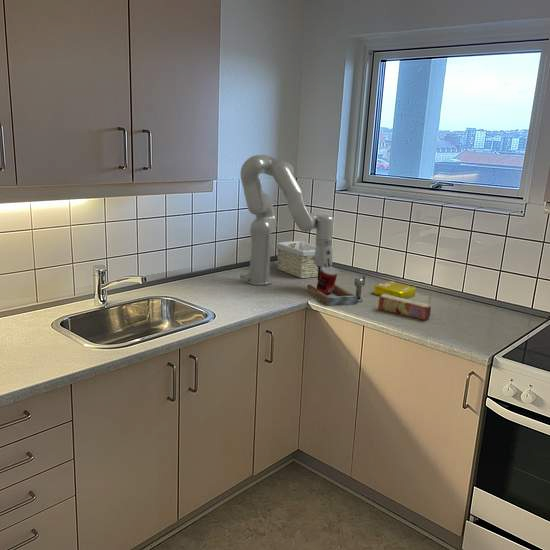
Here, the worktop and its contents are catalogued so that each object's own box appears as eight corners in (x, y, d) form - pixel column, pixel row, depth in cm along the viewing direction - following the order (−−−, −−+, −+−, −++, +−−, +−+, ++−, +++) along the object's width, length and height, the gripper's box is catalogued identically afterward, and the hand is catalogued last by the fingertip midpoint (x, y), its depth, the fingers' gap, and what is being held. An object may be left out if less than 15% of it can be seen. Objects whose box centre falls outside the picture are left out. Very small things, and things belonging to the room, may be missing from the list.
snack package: (430, 318, 229) (432, 302, 227) (425, 322, 223) (427, 306, 222) (382, 307, 240) (384, 292, 238) (376, 310, 234) (378, 295, 233)
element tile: (400, 302, 249) (401, 292, 248) (372, 294, 258) (373, 284, 257) (416, 296, 260) (417, 286, 258) (388, 289, 269) (390, 279, 268)
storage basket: (274, 268, 295) (275, 241, 291) (299, 266, 303) (301, 240, 300) (300, 280, 275) (302, 251, 272) (325, 277, 284) (328, 249, 280)
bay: (328, 305, 236) (329, 298, 235) (306, 291, 256) (307, 283, 256) (357, 303, 241) (357, 296, 240) (333, 289, 262) (334, 282, 261)
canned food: (332, 287, 259) (338, 267, 254) (331, 296, 252) (337, 275, 247) (316, 284, 259) (321, 264, 254) (315, 292, 252) (320, 272, 247)
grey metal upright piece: (355, 302, 243) (358, 277, 240) (351, 299, 247) (353, 275, 244) (364, 301, 245) (367, 277, 242) (360, 299, 249) (362, 274, 246)
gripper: (338, 245, 249) (335, 284, 254) (323, 238, 262) (321, 276, 267) (323, 245, 246) (321, 285, 251) (309, 239, 260) (307, 277, 264)
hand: (321, 280), depth 259 cm, fingers closed
